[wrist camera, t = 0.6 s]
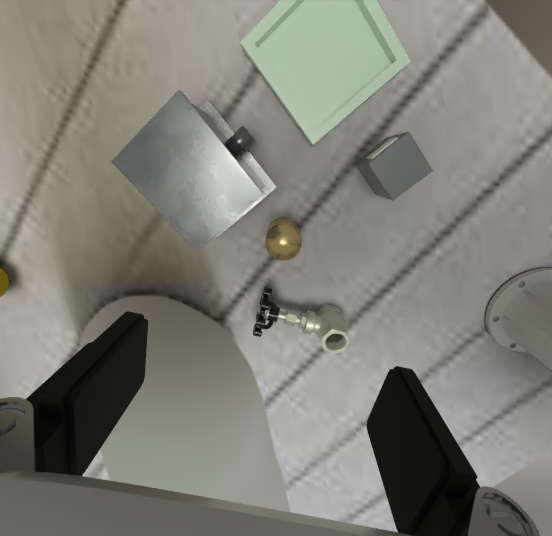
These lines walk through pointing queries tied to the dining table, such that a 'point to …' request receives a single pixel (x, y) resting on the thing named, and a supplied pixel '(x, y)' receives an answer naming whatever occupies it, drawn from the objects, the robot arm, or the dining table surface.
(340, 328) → the valve
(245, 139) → the box
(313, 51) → the tray
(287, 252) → the cylinder
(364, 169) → the block
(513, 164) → the dining table surface
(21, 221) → the dining table surface
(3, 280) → the lemon
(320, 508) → the dining table surface
